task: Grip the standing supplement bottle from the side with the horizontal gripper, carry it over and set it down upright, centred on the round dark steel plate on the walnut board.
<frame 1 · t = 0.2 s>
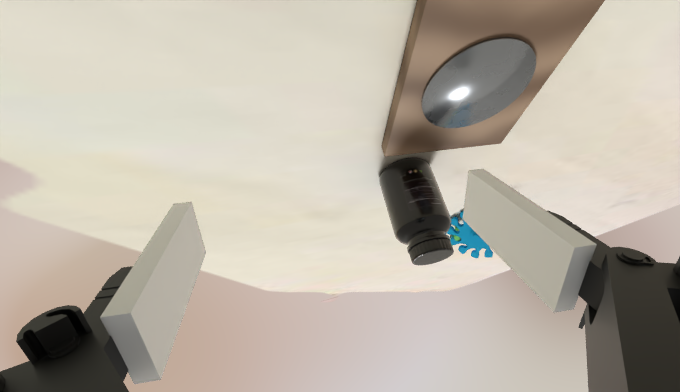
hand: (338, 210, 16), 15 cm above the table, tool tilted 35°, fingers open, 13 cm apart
supplement bottle: (403, 170, 43), on the table
gear: (466, 215, 61), on the table
walnut board: (469, 76, 31), on the table
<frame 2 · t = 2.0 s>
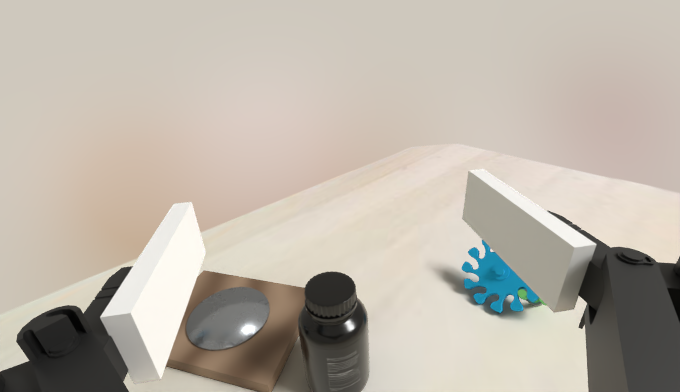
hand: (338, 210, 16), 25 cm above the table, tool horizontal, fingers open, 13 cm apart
supplement bottle: (337, 374, 36), on the table
gear: (500, 298, 45), on the table
walnut board: (231, 324, 42), on the table
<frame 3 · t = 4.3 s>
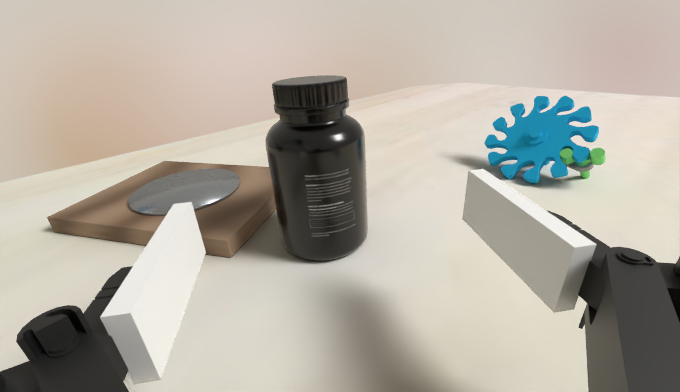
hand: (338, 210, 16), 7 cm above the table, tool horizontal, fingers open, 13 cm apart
supplement bottle: (324, 239, 26), on the table
gear: (534, 175, 35), on the table
walnut board: (191, 204, 33), on the table
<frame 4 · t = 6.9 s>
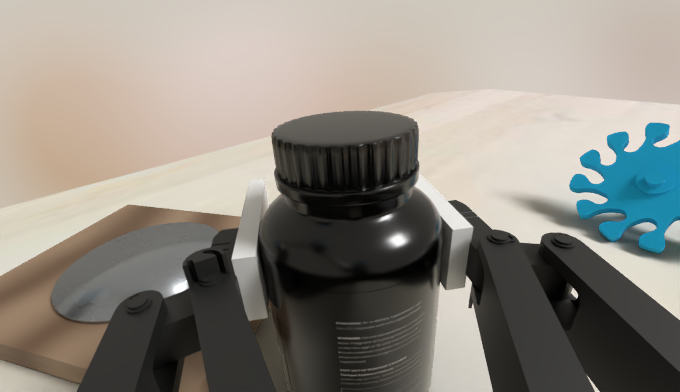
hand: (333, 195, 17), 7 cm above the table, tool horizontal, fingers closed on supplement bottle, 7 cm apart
supplement bottle: (356, 372, 16), on the table, touching gripper
gear: (644, 234, 25), on the table
walnut board: (154, 282, 23), on the table
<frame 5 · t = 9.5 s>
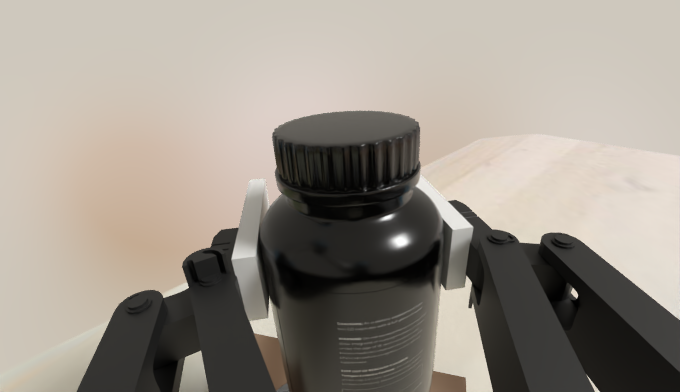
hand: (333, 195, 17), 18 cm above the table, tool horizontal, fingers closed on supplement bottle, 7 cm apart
supplement bottle: (357, 372, 16), point 10 cm above the table, touching gripper
when the fingers open (10 cm above the table, at t = 12.0 s): supplement bottle drops 1 cm, resting on walnut board.
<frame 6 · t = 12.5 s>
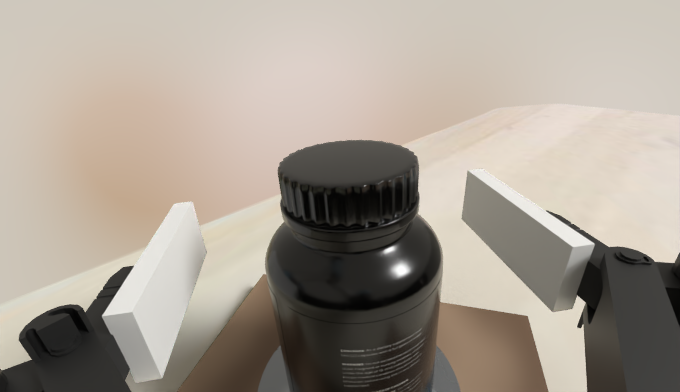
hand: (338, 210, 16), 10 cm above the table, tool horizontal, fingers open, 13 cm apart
supplement bottle: (359, 388, 17), point 2 cm above the table, touching walnut board
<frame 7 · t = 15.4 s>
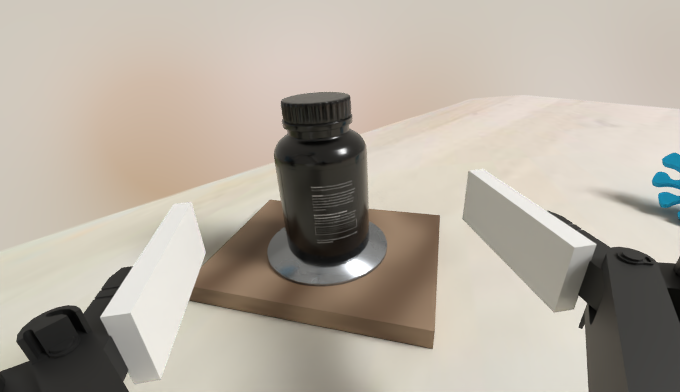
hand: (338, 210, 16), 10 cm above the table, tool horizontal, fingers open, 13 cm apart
supplement bottle: (328, 244, 28), point 2 cm above the table, touching walnut board
walnut board: (328, 260, 29), on the table
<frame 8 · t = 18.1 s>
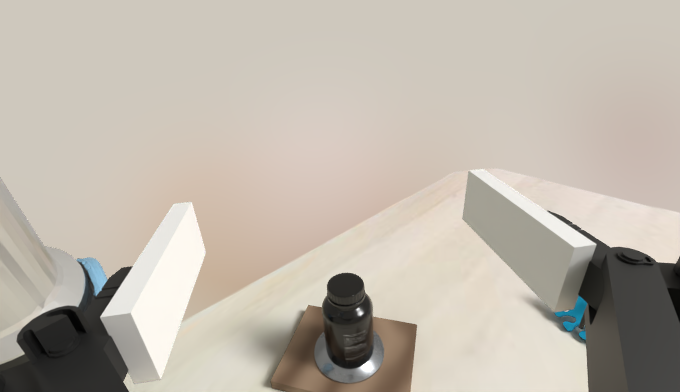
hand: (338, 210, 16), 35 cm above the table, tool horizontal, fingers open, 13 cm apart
supplement bottle: (349, 350, 48), point 2 cm above the table, touching walnut board
gear: (588, 328, 51), on the table
walnut board: (349, 357, 48), on the table
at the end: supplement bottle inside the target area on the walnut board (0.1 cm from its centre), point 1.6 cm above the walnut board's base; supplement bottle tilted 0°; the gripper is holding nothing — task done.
